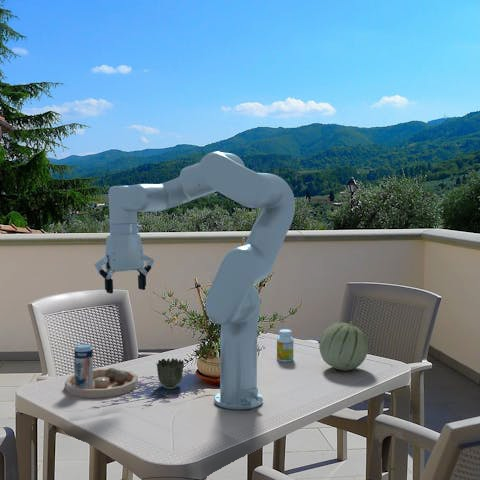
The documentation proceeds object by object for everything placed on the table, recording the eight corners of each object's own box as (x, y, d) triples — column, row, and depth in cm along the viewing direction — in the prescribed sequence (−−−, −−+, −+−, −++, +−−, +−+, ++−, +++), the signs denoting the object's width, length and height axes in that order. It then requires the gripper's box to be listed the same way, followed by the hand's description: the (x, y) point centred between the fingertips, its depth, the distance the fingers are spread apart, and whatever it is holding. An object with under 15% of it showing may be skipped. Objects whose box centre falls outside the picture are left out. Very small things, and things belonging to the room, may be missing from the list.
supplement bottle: (275, 357, 201) (275, 328, 200) (291, 357, 202) (291, 328, 201) (278, 362, 196) (278, 332, 195) (294, 362, 196) (295, 332, 195)
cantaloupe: (309, 368, 189) (309, 320, 188) (339, 360, 198) (340, 314, 197) (346, 379, 178) (347, 329, 177) (377, 370, 187) (378, 322, 186)
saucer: (147, 393, 165) (147, 382, 165) (78, 406, 155) (78, 394, 155) (122, 375, 181) (122, 365, 181) (57, 385, 171) (57, 375, 171)
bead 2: (129, 384, 169) (129, 371, 169) (117, 386, 167) (116, 373, 167) (124, 381, 172) (124, 368, 172) (112, 383, 170) (112, 370, 170)
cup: (179, 395, 164) (178, 366, 163) (153, 393, 165) (152, 364, 164) (187, 386, 171) (186, 358, 170) (161, 384, 172) (161, 357, 172)
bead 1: (119, 381, 172) (119, 368, 172) (107, 383, 170) (107, 370, 170) (115, 377, 175) (115, 365, 175) (103, 379, 174) (103, 367, 173)
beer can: (71, 390, 164) (70, 347, 163) (81, 385, 168) (81, 342, 167) (86, 393, 162) (85, 348, 161) (96, 387, 167) (96, 344, 166)
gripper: (146, 228, 177) (148, 286, 179) (89, 231, 168) (91, 292, 169) (157, 229, 171) (159, 289, 172) (99, 232, 162) (101, 296, 163)
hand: (126, 291), depth 171 cm, fingers open, 9 cm apart
